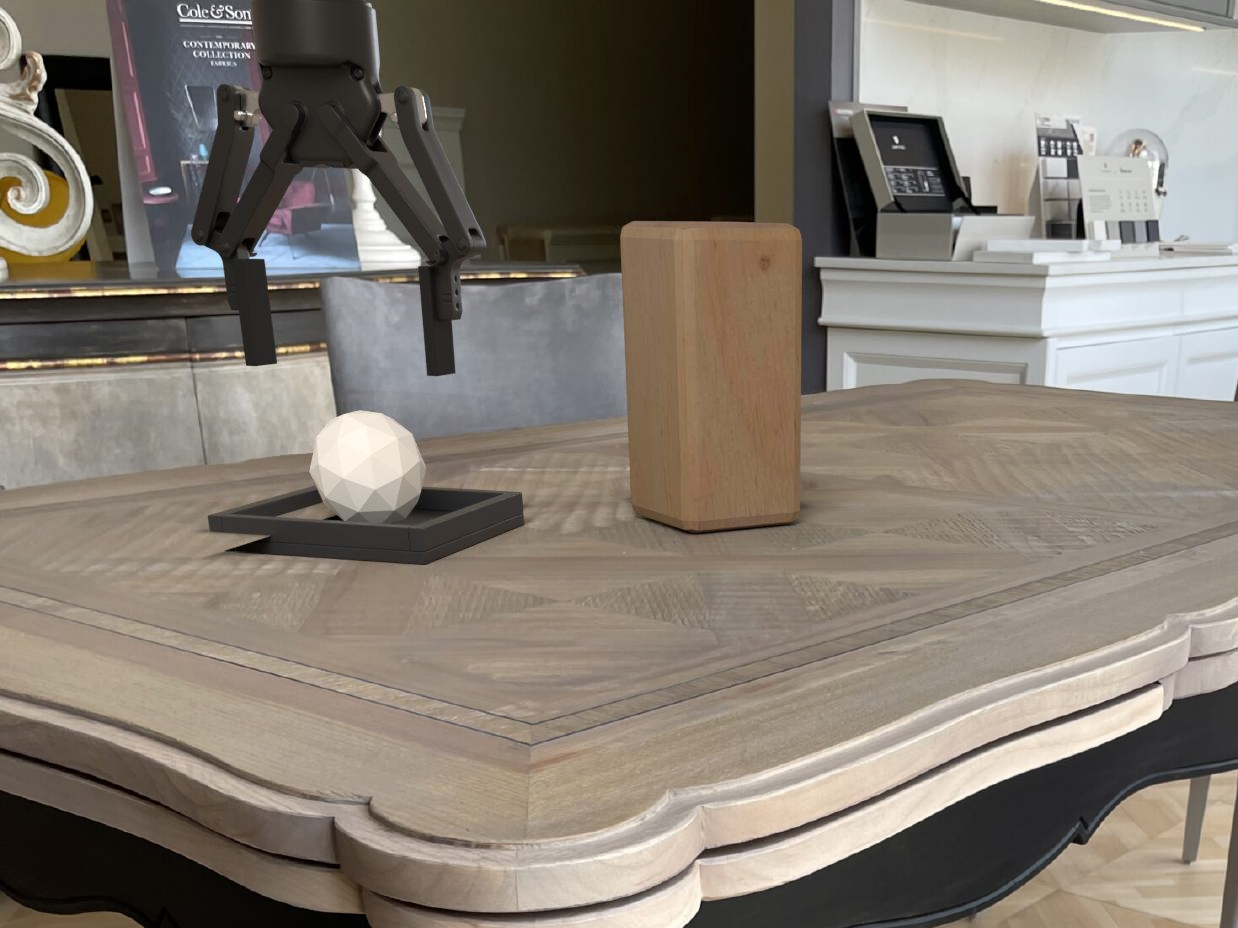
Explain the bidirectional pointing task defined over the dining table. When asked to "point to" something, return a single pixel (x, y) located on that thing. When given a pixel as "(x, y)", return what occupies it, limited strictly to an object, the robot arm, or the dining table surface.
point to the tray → (375, 526)
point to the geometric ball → (367, 468)
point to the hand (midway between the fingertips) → (350, 370)
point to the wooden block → (713, 372)
